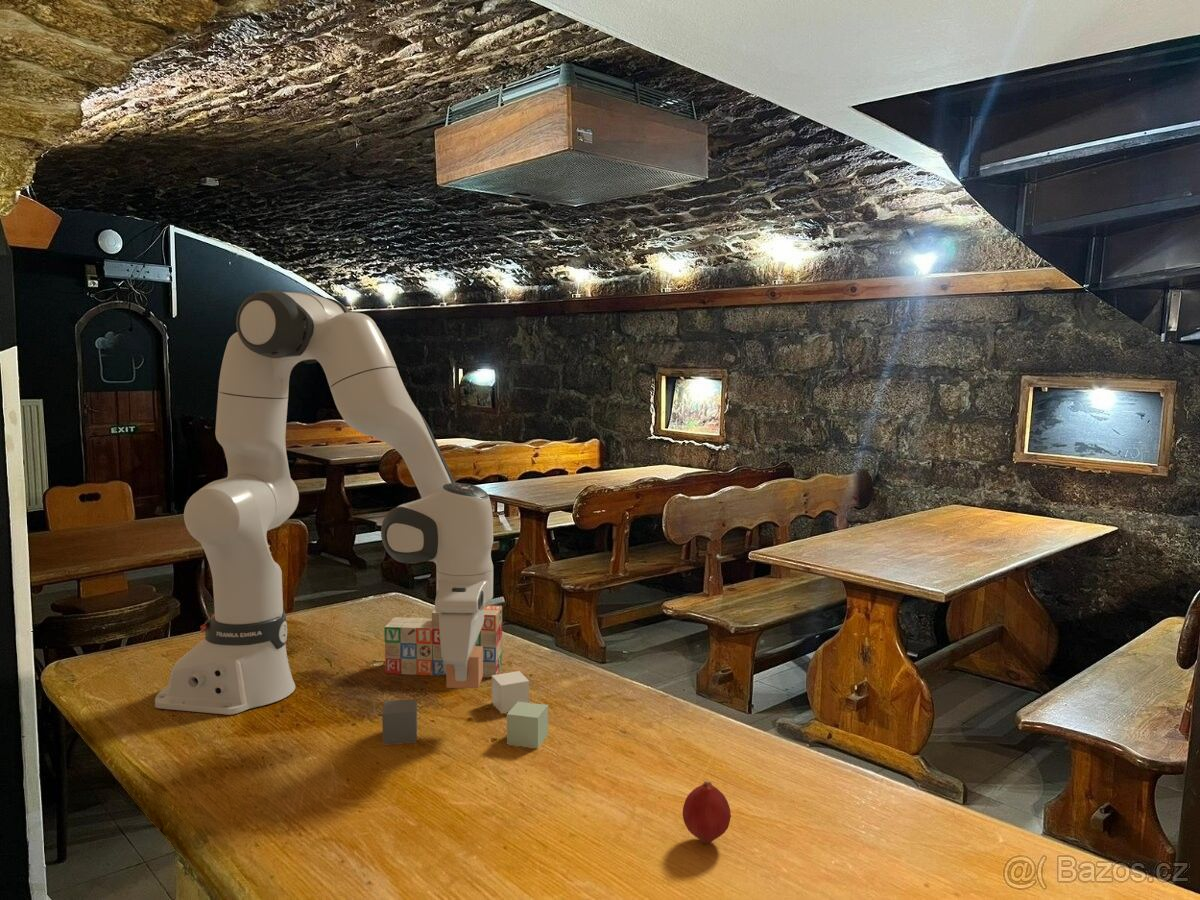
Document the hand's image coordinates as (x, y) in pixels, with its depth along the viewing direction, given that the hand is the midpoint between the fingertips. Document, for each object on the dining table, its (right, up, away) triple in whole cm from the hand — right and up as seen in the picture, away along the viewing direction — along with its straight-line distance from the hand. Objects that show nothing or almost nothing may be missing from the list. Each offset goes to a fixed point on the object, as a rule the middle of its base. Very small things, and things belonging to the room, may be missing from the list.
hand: (464, 671), depth 133 cm
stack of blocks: (-8, -7, +27) cm, 29 cm away
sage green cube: (+10, -10, -3) cm, 15 cm away
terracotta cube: (0, -2, 0) cm, 2 cm away
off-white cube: (+6, -9, +10) cm, 15 cm away
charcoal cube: (-10, -10, -2) cm, 14 cm away
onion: (+35, -13, -31) cm, 48 cm away
